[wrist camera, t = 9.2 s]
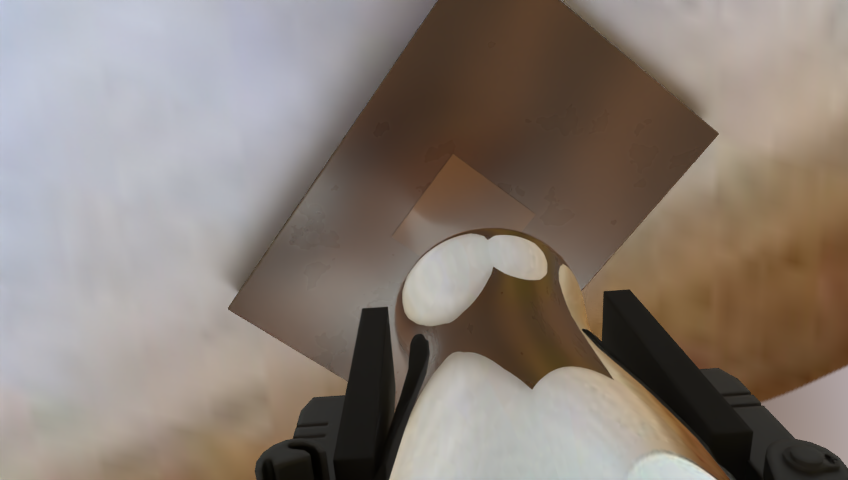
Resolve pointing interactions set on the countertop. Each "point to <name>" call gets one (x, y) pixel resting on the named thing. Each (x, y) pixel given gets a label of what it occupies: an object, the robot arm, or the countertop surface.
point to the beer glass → (521, 377)
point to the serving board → (473, 167)
